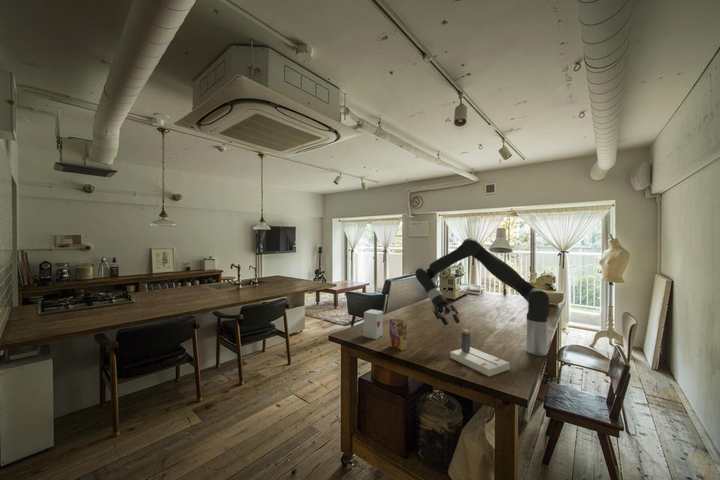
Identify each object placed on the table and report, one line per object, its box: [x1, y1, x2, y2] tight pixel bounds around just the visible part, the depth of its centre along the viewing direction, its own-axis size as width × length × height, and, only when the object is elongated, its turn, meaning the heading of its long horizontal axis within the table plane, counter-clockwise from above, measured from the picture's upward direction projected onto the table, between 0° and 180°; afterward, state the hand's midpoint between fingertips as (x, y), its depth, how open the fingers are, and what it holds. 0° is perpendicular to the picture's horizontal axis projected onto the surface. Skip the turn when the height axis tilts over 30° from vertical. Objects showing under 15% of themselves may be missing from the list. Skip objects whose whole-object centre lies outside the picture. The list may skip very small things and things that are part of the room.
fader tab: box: [461, 329, 471, 352], centre depth 141 cm, size 3×3×10 cm
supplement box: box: [363, 308, 384, 340], centre depth 171 cm, size 9×9×15 cm
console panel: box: [449, 346, 511, 377], centre depth 134 cm, size 14×22×3 cm, turn 29°
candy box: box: [388, 317, 408, 351], centre depth 153 cm, size 9×4×15 cm, turn 47°
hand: (452, 323), depth 148 cm, fingers open, 8 cm apart
